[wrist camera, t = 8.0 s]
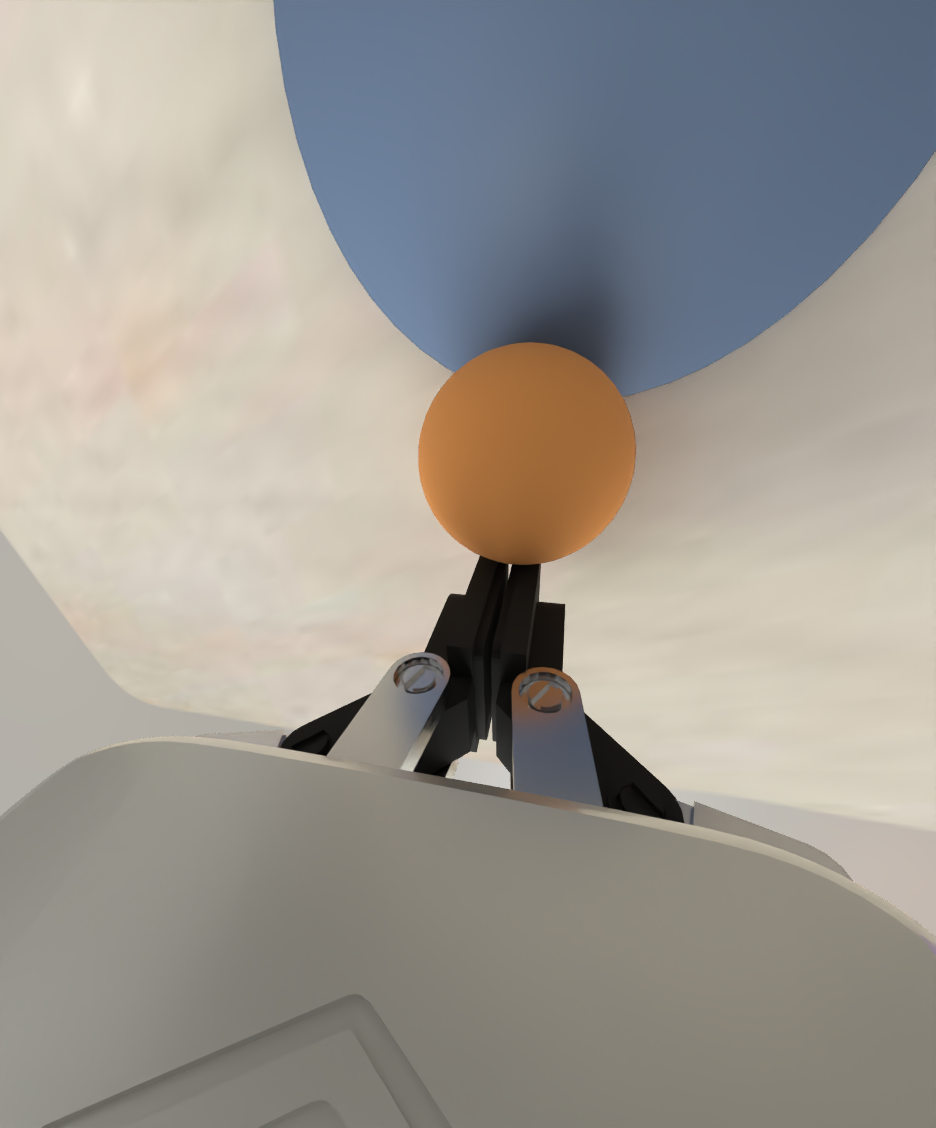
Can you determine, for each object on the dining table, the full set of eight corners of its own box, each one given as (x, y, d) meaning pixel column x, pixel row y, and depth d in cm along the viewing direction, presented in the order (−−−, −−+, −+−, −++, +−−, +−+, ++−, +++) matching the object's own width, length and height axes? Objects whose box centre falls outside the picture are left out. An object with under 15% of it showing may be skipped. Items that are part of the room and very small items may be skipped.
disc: (164, -580, 6) (151, -606, 6) (1642, -1492, 3) (1704, -1596, 3) (347, 398, 13) (344, 400, 13) (846, 403, 10) (850, 405, 10)
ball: (474, 482, 14) (453, 316, 11) (631, 499, 13) (663, 309, 9) (406, 586, 11) (347, 395, 8) (605, 628, 9) (640, 406, 6)
